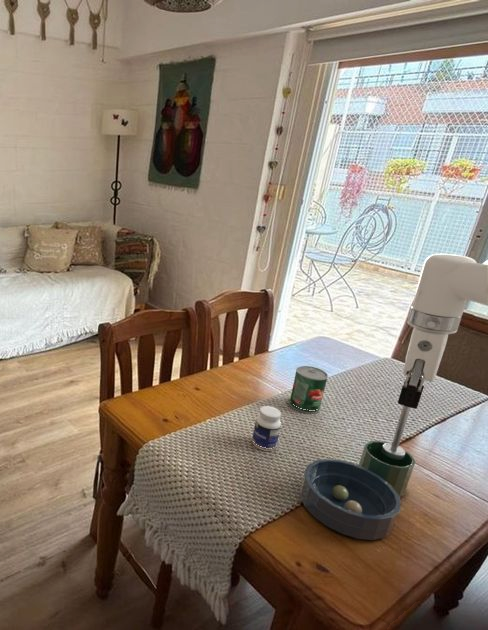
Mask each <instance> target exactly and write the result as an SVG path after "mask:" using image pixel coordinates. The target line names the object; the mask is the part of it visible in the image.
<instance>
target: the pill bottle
mask: <svg viewBox="0 0 488 630" xmlns="http://www.w3.org/2000/svg"><path fill="white" fill-rule="evenodd" d="M281 416H282V413H281V411H280V409H278V408H276V407H274V406H270V405H263V406H261V407H260V408H259V413H258V415H257V416H256V418H255V421H254V422H255V423H254V427H253V431H252V432H253V433H252V438H251V443H252V445H253V446H254V447H255V448H257V449H258V450H261V451H264V452H272V451H274V450H275V449H277V446H278V441H279V436H280V433H281V428H282V422H281ZM252 439H253V440H252ZM253 441H254V442H255V443H256V444H257V445H256V444H255V443H254V442H253ZM258 445H259V446H258ZM276 445H277V446H276ZM260 446H262V447H266V448H272V449H266V448H262V447H260ZM275 446H276V447H275ZM273 447H275V448H273Z"/></svg>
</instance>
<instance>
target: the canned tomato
mask: <svg viewBox="0 0 488 630" xmlns="http://www.w3.org/2000/svg"><path fill="white" fill-rule="evenodd" d="M328 377H329V375H328V373H327V372H326V371H324V370H323V369H321V368H319V367H315V366H310V365H300V366H298V367H296V370H295V376H294V379H293V384H292V389H291V394H290V398H289V401H288V403H289V405H290V407H291V408H292V409H293V410H295V411H297V412H300V413H303V414H307V415H312V414H317V413H319V412H320V410H321V405H322V402H323V397H324V393H325V389H326V384H327V381H328ZM290 401H291V402H290ZM293 404H294V405H295V406H294V405H293ZM296 406H297V407H296ZM298 407H299V408H298ZM300 408H302V409H300ZM303 409H306V410H303ZM307 409H308V410H307ZM316 409H318V410H316ZM309 410H315V411H309Z"/></svg>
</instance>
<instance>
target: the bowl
mask: <svg viewBox="0 0 488 630" xmlns="http://www.w3.org/2000/svg"><path fill="white" fill-rule="evenodd" d="M336 485H341V486H343V487H345V488H346V489H347V491H348V494H349V495H348V498H347V499H346V500H343V501H340V500H337V499H336V498H335V497H334V496H333V495H332V488H333V487H334V486H336ZM299 498H300V500H301V502H302V504H303V506H304V508H305V509H306V510H307V511H308V513H310V514H311V515H312V516H313V517H314V518H315V519H316V520H317V521H319V522H321V524H323V525H324V526H326V527H327V528H330V529H331V530H334V531H335V532H338V533H339V534H342V535H344V536H347V537H352V538H354V539H358V540H367V541H375V540H380V539H385V538H387V537H388V536H389V535H391V534H392V533H393V531H394V528H395V525H396V523H397V521H398V517H399V515H400V510H401V507H402V501H401V499H400V498H401V497H399V495H398V494H397V492H396V491H395V490H394V488H393V487H392V486H391V485H390V484H389V483H388V482H386V481H385V480H384V479H383V478H381V477H380V476H379V475H377V474H375V473H373V472H372V471H370V470H368V469H366V468H364V467H361V466H359V464H356V463H354V462H351V461H350V462H349V461H346V460H342V459H336V458H335V459H334V458H322V459H315V460H314V461H311V462H310V463H308V464H307V466H306V467H305V469H304V472H303V476H302V480H301V483H300V487H299ZM350 500H353V501H356V502H358V503H359V504H360V505H361V507H362V513H361V514H359V513H356V512H352V511H349V510H346V509H345V508H344V505H345V503H346V502H347V501H350Z"/></svg>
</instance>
